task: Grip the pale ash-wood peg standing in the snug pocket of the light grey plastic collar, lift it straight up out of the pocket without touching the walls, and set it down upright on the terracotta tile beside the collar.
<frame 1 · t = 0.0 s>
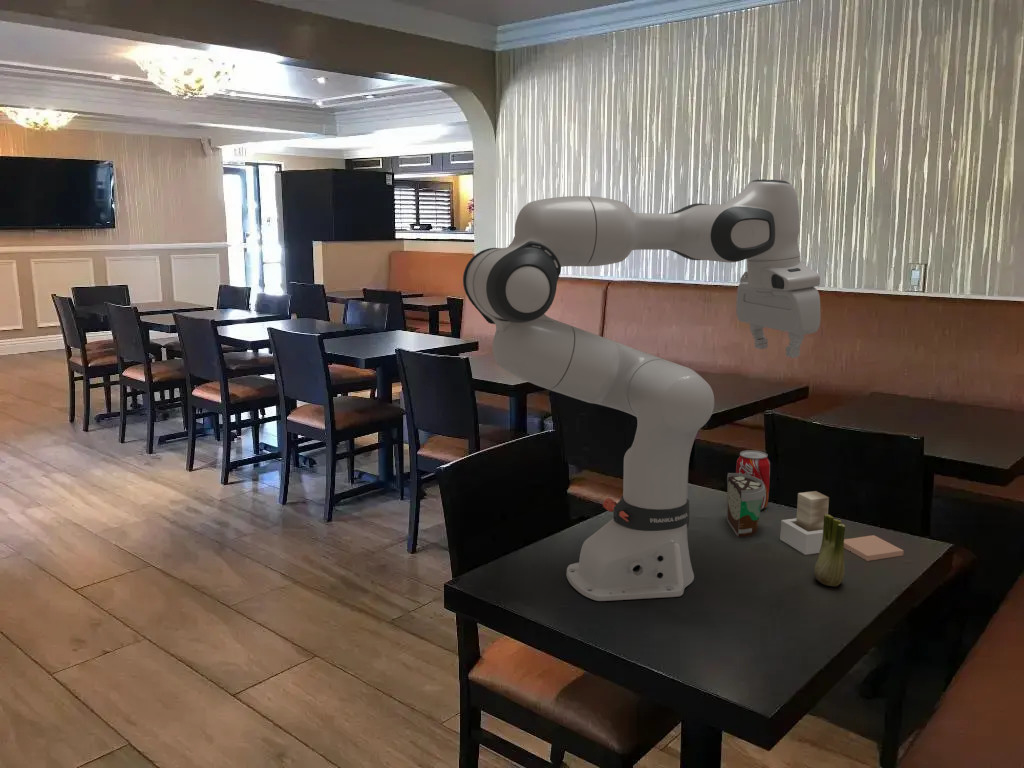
hand: (776, 352, 151), 39 cm above the table, tool pointing down, fingers open, 8 cm apart
fennel bulb: (828, 584, 148), on the table
pocket collar: (810, 544, 165), on the table
soda can: (751, 507, 186), on the table
food container: (747, 529, 174), on the table
ash peg: (811, 520, 164), in the pocket collar
terracotta tile: (870, 550, 162), on the table
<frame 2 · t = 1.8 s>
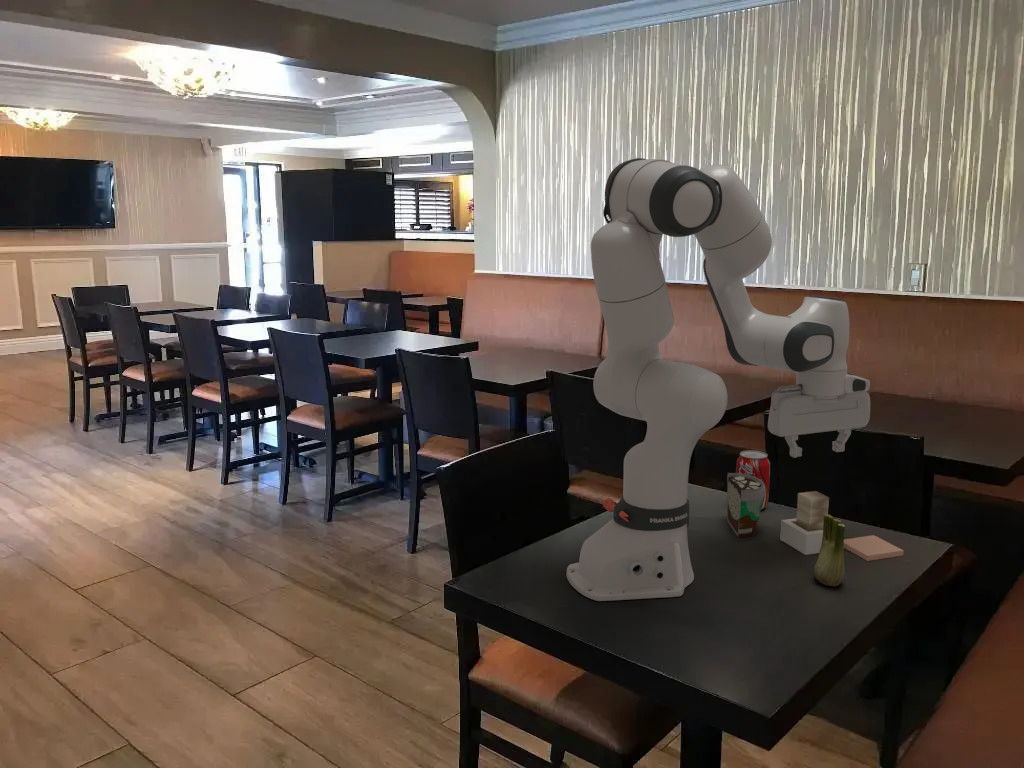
hand: (817, 453, 161), 18 cm above the table, tool pointing down, fingers open, 8 cm apart
nothing on the table moved.
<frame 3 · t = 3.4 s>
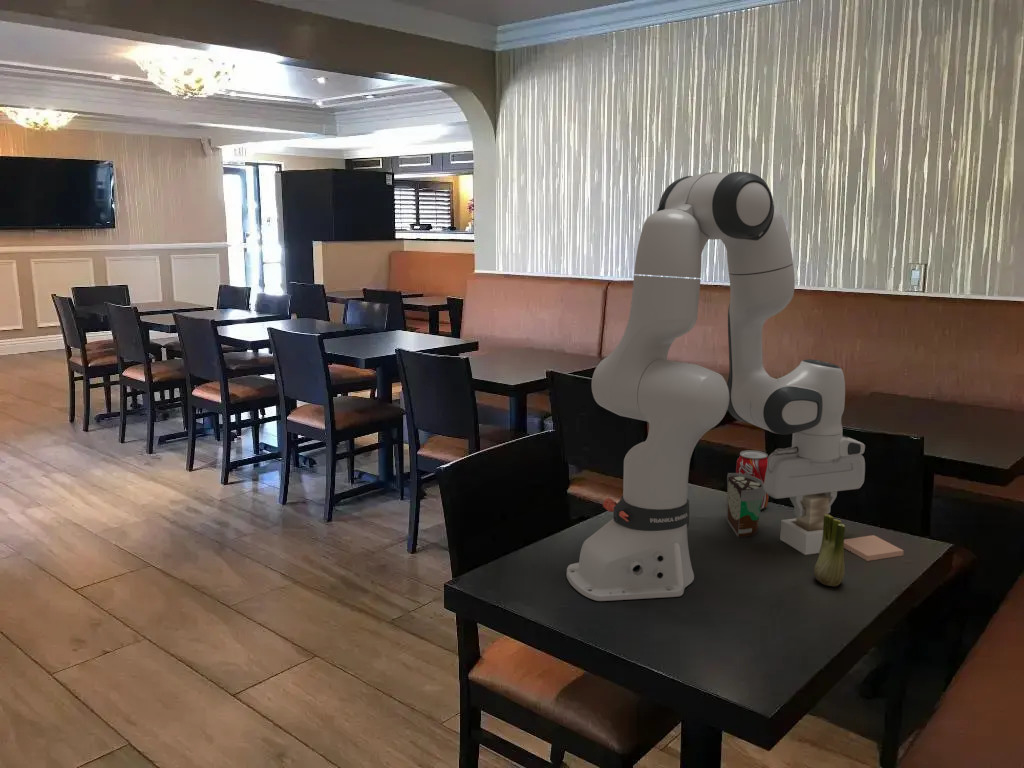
hand: (812, 514, 164), 6 cm above the table, tool pointing down, fingers closed on ash peg, 4 cm apart
ash peg: (811, 520, 164), in the pocket collar, touching gripper
everything else where it was.
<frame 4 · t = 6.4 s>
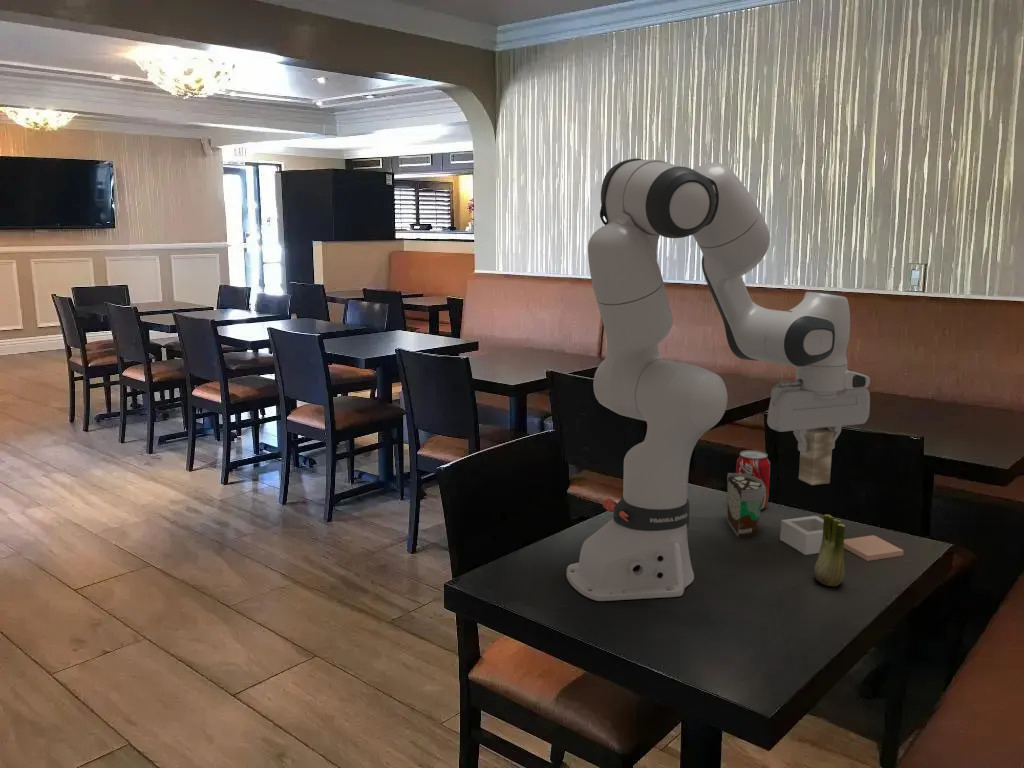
hand: (816, 449, 161), 19 cm above the table, tool pointing down, fingers closed on ash peg, 4 cm apart
ash peg: (815, 455, 161), point 18 cm above the table, touching gripper
everything else where it was.
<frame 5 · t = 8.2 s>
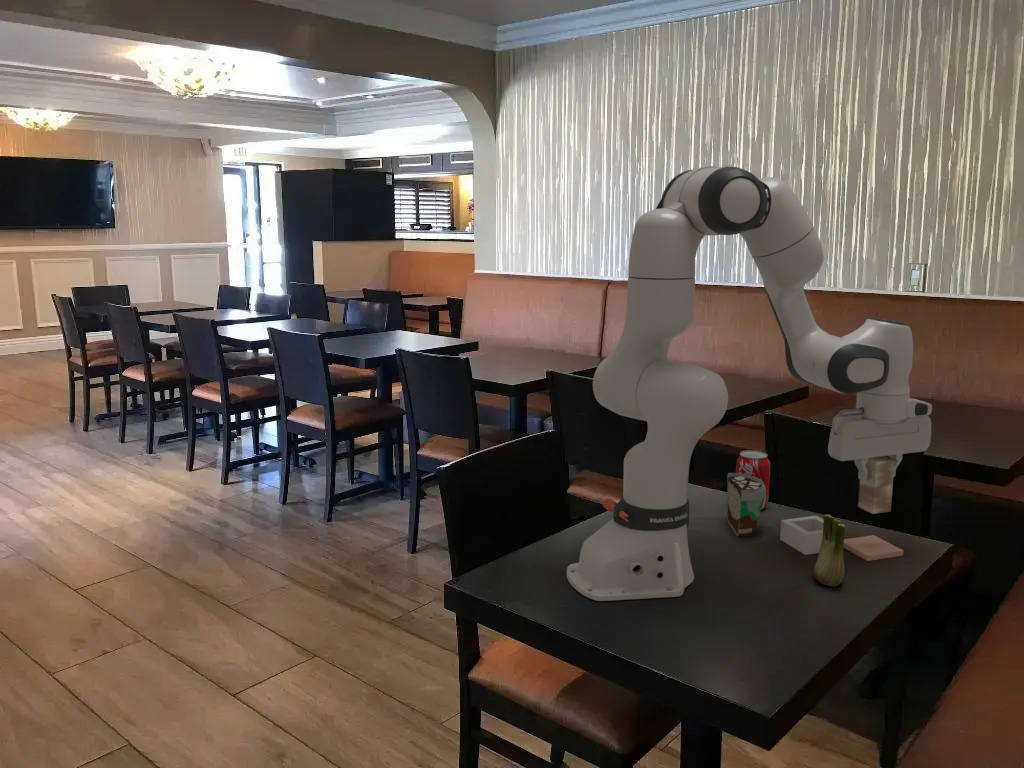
hand: (876, 478, 159), 14 cm above the table, tool pointing down, fingers closed on ash peg, 4 cm apart
ash peg: (876, 483, 159), point 13 cm above the table, touching gripper
everything else where it was.
when the fingers open (9 cm above the table, at t = 9.5 s): ash peg drops 1 cm, resting on terracotta tile.
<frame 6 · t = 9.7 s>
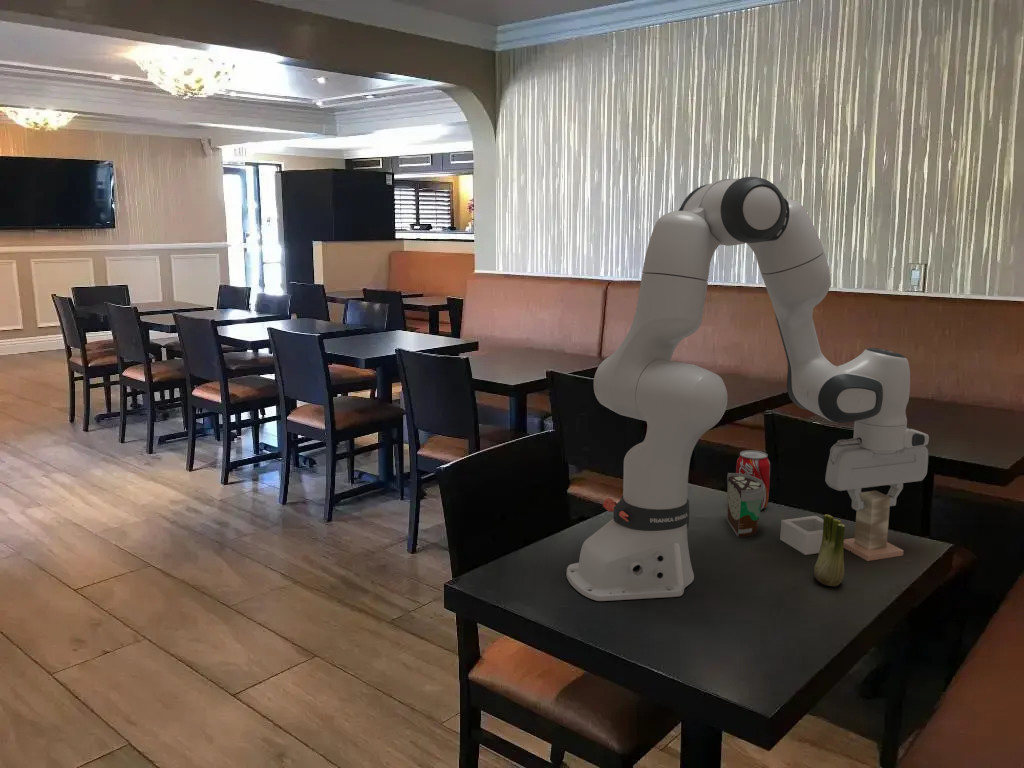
hand: (873, 507, 160), 9 cm above the table, tool pointing down, fingers open, 6 cm apart
ash peg: (872, 520, 161), on the terracotta tile, point 6 cm above the table
everything else where it was.
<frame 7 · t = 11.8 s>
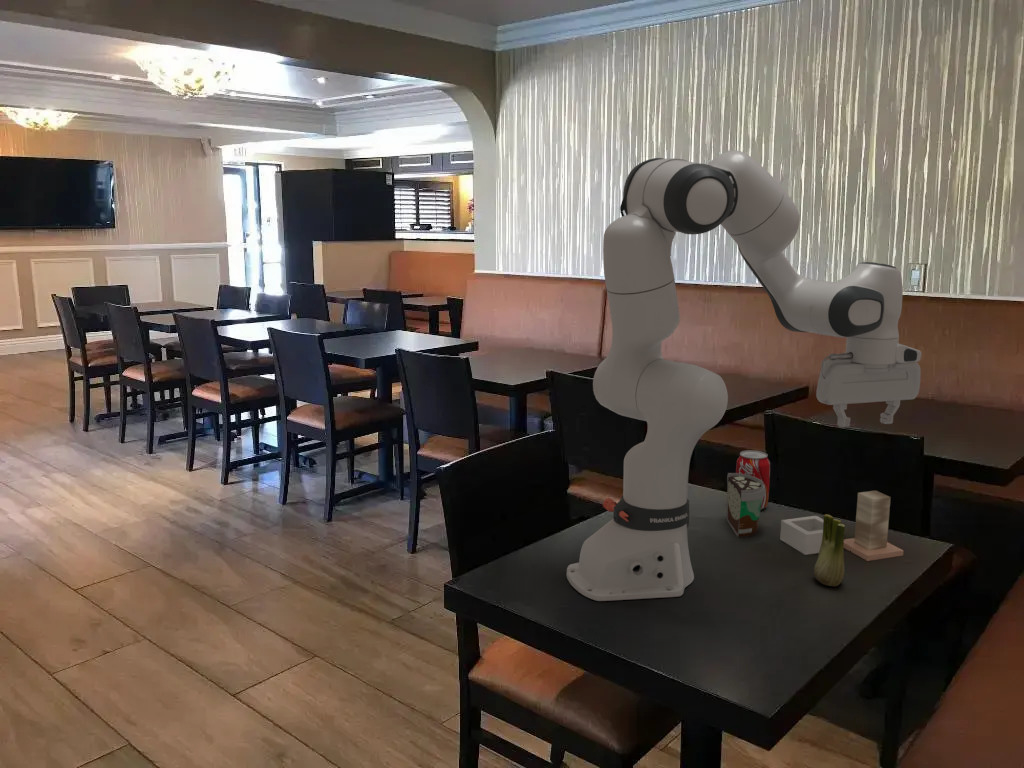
hand: (865, 424, 159), 24 cm above the table, tool pointing down, fingers open, 8 cm apart
nothing on the table moved.
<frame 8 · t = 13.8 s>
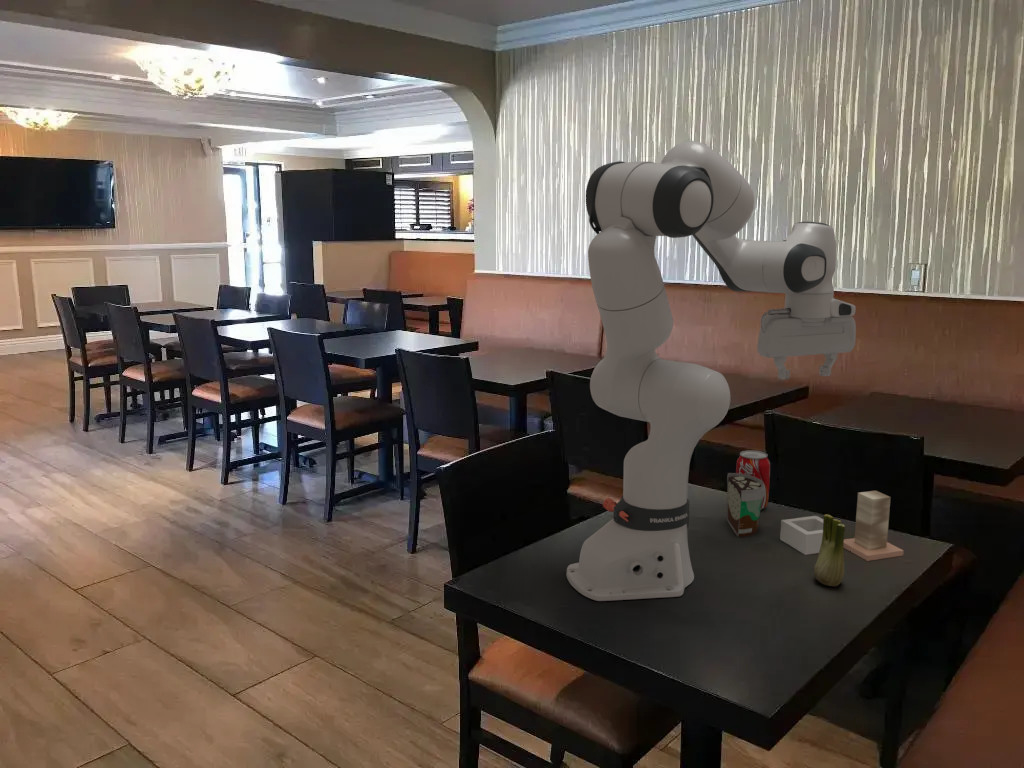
hand: (804, 377, 168), 31 cm above the table, tool pointing down, fingers open, 8 cm apart
nothing on the table moved.
at the end: ash peg inside the target area (0.1 cm from its centre), point 6.0 cm above the table; ash peg tilted 0°; the gripper is holding nothing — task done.
